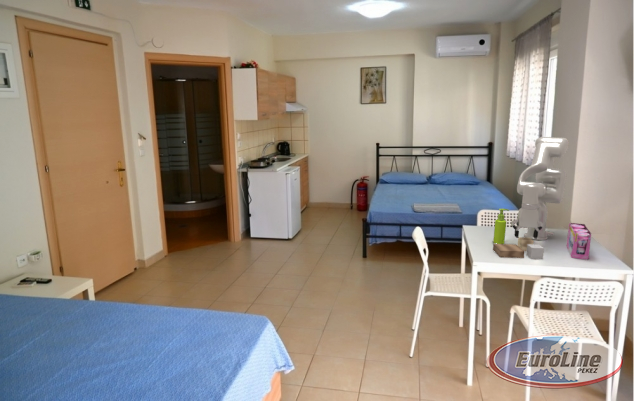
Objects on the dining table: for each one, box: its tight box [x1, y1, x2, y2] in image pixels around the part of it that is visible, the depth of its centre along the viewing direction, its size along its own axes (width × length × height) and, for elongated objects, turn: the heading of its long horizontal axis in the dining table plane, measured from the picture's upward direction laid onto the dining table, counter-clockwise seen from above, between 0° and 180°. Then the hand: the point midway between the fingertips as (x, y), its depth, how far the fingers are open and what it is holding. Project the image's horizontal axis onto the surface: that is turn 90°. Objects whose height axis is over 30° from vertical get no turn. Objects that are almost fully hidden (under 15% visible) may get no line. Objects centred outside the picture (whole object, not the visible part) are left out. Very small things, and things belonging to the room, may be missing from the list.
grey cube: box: [525, 244, 545, 260], centre depth 228 cm, size 6×6×6 cm
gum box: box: [566, 222, 592, 260], centre depth 234 cm, size 24×8×14 cm, turn 157°
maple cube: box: [517, 236, 535, 252], centre depth 241 cm, size 6×6×6 cm
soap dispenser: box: [492, 208, 510, 244], centre depth 251 cm, size 6×7×20 cm
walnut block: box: [492, 243, 526, 259], centre depth 233 cm, size 12×12×4 cm
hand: (525, 237), depth 239 cm, fingers open, 9 cm apart
